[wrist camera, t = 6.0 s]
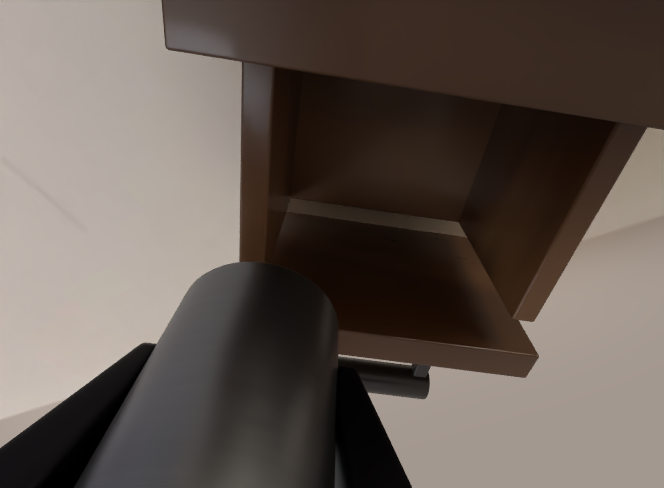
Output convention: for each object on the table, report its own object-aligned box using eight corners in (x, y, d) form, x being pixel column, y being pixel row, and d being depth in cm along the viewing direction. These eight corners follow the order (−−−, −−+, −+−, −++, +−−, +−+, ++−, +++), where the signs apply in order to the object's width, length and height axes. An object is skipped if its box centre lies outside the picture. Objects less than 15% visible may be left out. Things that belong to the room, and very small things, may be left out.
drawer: (442, 311, 23) (485, 442, 16) (259, 287, 22) (218, 410, 15) (598, -80, 13) (893, -196, 6) (281, -139, 13) (196, -341, 6)
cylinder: (364, 349, 11) (383, 697, 5) (242, 390, 12) (153, 708, 6) (287, 233, 9) (187, 600, 3) (149, 296, 10) (-94, 641, 4)
